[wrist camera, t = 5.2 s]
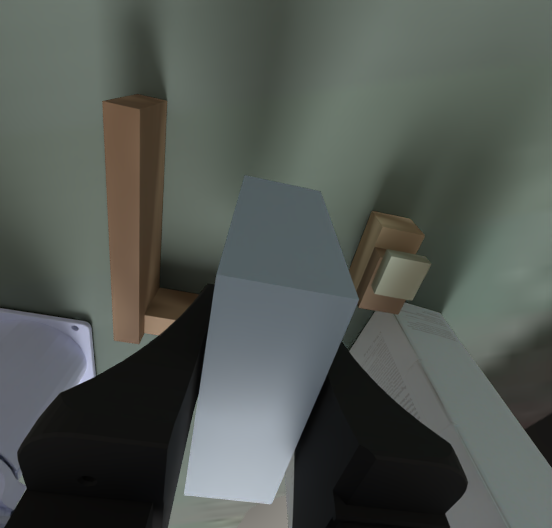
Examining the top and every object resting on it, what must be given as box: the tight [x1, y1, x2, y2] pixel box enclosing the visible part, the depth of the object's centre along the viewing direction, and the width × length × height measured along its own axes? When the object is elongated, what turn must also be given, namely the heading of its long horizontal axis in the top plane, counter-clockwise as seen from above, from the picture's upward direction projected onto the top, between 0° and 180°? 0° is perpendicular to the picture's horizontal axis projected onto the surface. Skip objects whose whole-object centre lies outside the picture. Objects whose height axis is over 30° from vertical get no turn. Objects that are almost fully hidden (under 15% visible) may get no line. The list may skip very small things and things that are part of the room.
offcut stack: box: [349, 211, 431, 315], centre depth 20 cm, size 2×5×4 cm, turn 168°
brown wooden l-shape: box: [102, 94, 199, 344], centre depth 19 cm, size 12×14×4 cm
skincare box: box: [285, 303, 552, 528], centre depth 22 cm, size 21×5×16 cm, turn 160°
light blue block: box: [184, 175, 359, 504], centre depth 12 cm, size 3×9×7 cm, turn 168°
